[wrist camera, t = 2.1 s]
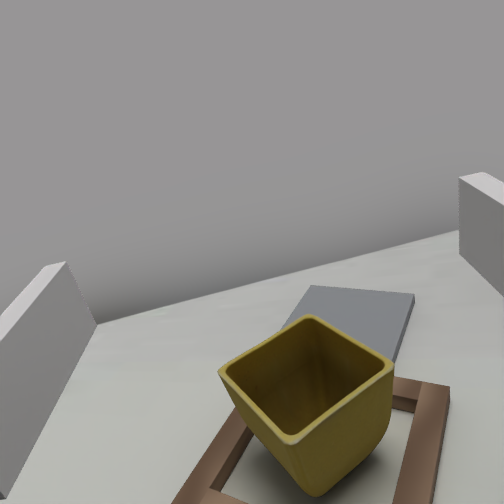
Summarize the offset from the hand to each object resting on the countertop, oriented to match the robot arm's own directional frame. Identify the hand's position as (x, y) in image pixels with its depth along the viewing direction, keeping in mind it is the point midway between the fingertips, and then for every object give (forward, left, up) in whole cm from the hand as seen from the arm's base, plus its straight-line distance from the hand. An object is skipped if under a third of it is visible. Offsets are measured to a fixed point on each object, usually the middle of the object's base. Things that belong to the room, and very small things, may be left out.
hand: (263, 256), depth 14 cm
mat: (+8, -23, -22) cm, 33 cm away
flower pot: (+5, -8, -22) cm, 24 cm away
